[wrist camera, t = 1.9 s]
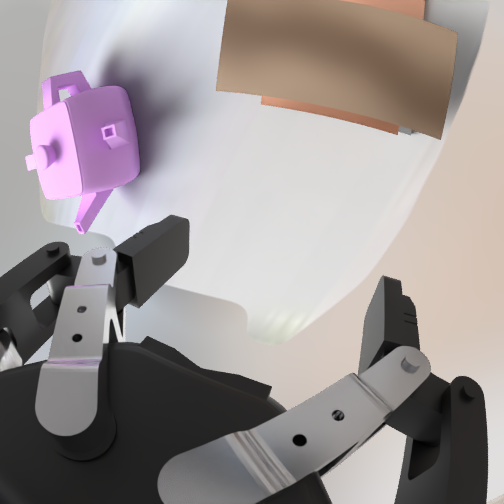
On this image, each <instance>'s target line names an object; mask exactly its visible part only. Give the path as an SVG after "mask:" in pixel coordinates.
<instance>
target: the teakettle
mask: <svg viewBox="0 0 504 504" xmlns="http://www.w3.org/2000/svg"><path fill="white" fill-rule="evenodd" d="M42 89H43V103H44V111H42V112H41V113H39V114H38V115H36V116H35V117H34V118H32V120H31V122H30V133H31V141H32V148H33V154H31V155H29V156H27V157H26V162H27V167H28V170H32V169H35V168H37V172H38V176H39V180H40V183H41V186H42V189H43V192H44V194H45V197H46V198H47V199H50V200H53V199H61V198H69V197H76V196H81V195H82V199H81V202H80V206H79V210H78V213H77V217H76V221H75V222H74V224H75V226H76V228H77V230H78V232H79V233H80V234H85V233H86V232H87V231H88V229H89V227H90V225H91V224H92V222H93V220H94V219H95V217H96V216H97V214H98V212H99V211H100V209H101V208H102V206H103V204H104V203H105V201H106V200H107V198H108V197H109V195H110V194H111V192H112V191H113V188H116V187H119V186H122V185H124V184H126V183H129V182H131V181H132V180H133V179H134V178H136V177H137V175H138V174H139V173H140V156H139V147H138V138H137V131H136V125H135V121H134V116H133V112H132V108H131V103H130V100H129V96H128V94H127V91H126V90H125V89H124V88H122V87H119V86H104V87H99V88H94V89H91V87H90V85H89V84H88V82H87V80H86V79H85V77H84V75H83V74H82V72H81V70H80V71H75V72H70V73H66V74H61V75H57V76H53V77H50V78H48V79H47V80H45V81H44V82H42ZM62 89H68V91H69V93H70V95H71V97H69V98H67V99H65V100H62V101H60V98H59V92H58V90H62Z"/></svg>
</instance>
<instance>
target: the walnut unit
mask: <svg viewBox="0 0 504 504" xmlns="http://www.w3.org/2000/svg"><path fill="white" fill-rule="evenodd" d="M457 35H458V33H457V32H454V31H452V30H449V29H447V28H444V27H441V26H439V25H436V24H433V23H430V22H427V21H424V20H421V19H418V18H415V17H412V16H408V15H405V14H401V13H398V12H394V11H390V10H386V9H382V8H378V7H373V6H369V5H364V4H359V3H354V2H348V1H342V0H228V1H227V8H226V15H225V22H224V29H223V36H222V43H221V51H220V59H219V67H218V76H217V84H216V91H225V92H235V93H245V94H253V95H261V96H262V99H261V104H262V105H269V106H275V107H281V108H287V109H293V110H298V111H304V112H309V113H314V114H318V115H323V116H328V117H332V118H337V119H341V120H345V121H349V122H353V123H357V124H361V125H365V126H368V127H372V128H376V129H379V130H383V131H386V132H389V133H393V134H396V135H398V131H399V132H402V133H405V134H408V135H411V132H412V130H414V131H417V132H420V133H423V134H426V135H429V136H431V137H434V138H437V139H440V140H441V137H442V132H443V128H444V123H445V118H446V113H447V108H448V103H449V97H450V92H451V85H452V79H453V72H454V64H455V56H456V47H457Z"/></svg>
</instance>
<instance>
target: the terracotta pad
mask: <svg viewBox="0 0 504 504" xmlns="http://www.w3.org/2000/svg"><path fill="white" fill-rule="evenodd" d="M342 1H348V2H354V3H359V4H364V5H369V6H373V7H378V8H382V9H386V10H390V11H394V12H398V13H401V14H405V15H408V16H412V17H415V18H418V19H421V20H424V6H425V0H342Z"/></svg>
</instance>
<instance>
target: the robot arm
mask: <svg viewBox="0 0 504 504" xmlns="http://www.w3.org/2000/svg"><path fill="white" fill-rule="evenodd" d="M189 227H190V225H189V220H188V219H186V218H182V217H178V216H175V215H170V216H168V217H167V218H165V219H163V220H162V221H160V222H159V223H155V224H152V225H149V226H147V227H145V228H144V229H142V230H141V231H139V233H136V234H135V235H133V237H130V238H129V239H127V240H126V241H124V242H123V243H121V244H120V245H118V246H117V247H115V248H114V249H113V250H112V249H110V248H96V249H92V250H90V251H88V252H86V253H85V254H84V255H83V256H82V257H80V256H73V255H70V250H69V246H68V244H66V243H64V242H53V243H49V244H47V245H45V246H43V247H42V248H40V249H39V250H38V251H36V252H35V253H33V254H32V255H30V256H29V257H28V258H26V259H25V260H23V261H22V262H20V263H19V264H18V265H16V266H15V267H14V268H12V269H11V270H9V271H8V272H7V273H5V274H4V275H3V276H2V277H0V504H332V502H331V500H330V498H329V495H328V493H327V491H326V489H325V487H324V484H323V482H322V480H321V477H323V476H324V475H326V474H327V473H329V472H330V471H331V470H333V469H334V468H335V467H337V466H338V465H339V464H341V463H342V462H343V461H344V460H345V459H347V458H348V457H349V456H350V455H351V454H353V453H354V452H355V451H356V450H358V449H359V448H360V447H361V446H363V445H364V444H365V443H366V442H367V441H369V440H370V439H371V438H372V437H373V436H374V435H376V434H377V433H378V432H379V431H380V430H381V429H382V428H384V427H385V426H386V425H389V426H391V427H392V428H394V429H396V430H398V431H400V432H402V433H403V434H405V435H407V438H406V445H405V452H404V458H403V464H402V470H401V475H400V480H399V485H398V490H397V494H396V499H395V503H394V504H486V499H487V482H488V438H487V422H486V409H485V400H484V394H483V391H482V389H481V387H480V386H479V385H478V383H477V382H475V381H474V380H472V379H471V378H469V377H466V376H459V377H456V378H455V379H454V380H453V381H452V382H451V383H448V382H446V381H444V380H443V379H441V378H439V377H437V376H436V375H434V374H432V373H431V372H430V371H431V366H430V362H429V360H428V359H427V357H426V356H425V355H424V354H423V353H422V352H421V351H420V344H419V334H418V326H417V318H416V309H415V306H414V304H413V302H412V301H411V299H410V297H408V296H405V295H402V286H401V281H400V280H397V279H393V278H390V277H387V276H382V277H381V279H380V281H379V283H378V286H377V288H376V291H375V293H374V295H373V298H372V300H371V303H370V305H369V307H368V310H367V313H366V316H365V320H364V328H363V338H362V346H361V355H360V362H359V370H358V376H357V375H356V374H355V373H351V374H349V375H347V376H345V377H344V378H342V379H341V380H339V381H337V382H336V383H334V384H333V385H331V386H329V387H328V388H326V389H325V390H323V391H321V392H320V393H318V394H316V395H315V396H313V397H311V398H309V399H308V400H306V401H304V402H303V403H301V404H299V405H297V406H295V407H294V408H292V409H290V410H288V411H287V410H286V409H285V408H284V407H283V406H282V405H280V404H279V403H278V402H277V401H275V400H274V399H273V398H271V397H269V395H270V391H271V388H272V386H269V385H266V384H263V383H260V382H257V381H254V380H252V379H249V378H246V377H243V376H241V375H237V374H231V373H225V372H218V371H213V370H207V369H203V368H200V367H199V366H197V365H196V364H194V363H193V362H192V361H190V360H189V359H188V358H186V357H185V356H184V355H182V354H181V353H180V352H178V351H177V350H176V349H175V348H172V347H170V346H168V345H166V344H164V343H161V342H159V341H157V340H155V339H153V338H151V337H149V336H147V337H146V338H145V339H144V340H143V341H142V342H141V343H140V344H139V343H133V342H125V320H126V319H125V318H126V311H125V306H126V305H127V304H131V305H133V306H135V307H137V308H140V307H141V306H142V305H143V304H144V303H145V302H146V301H147V300H148V299H149V298H150V297H151V296H152V295H153V294H154V293H155V292H156V291H157V290H158V289H159V288H160V287H161V286H162V285H163V284H164V283H165V282H167V281H168V280H169V279H170V278H171V277H172V276H173V275H174V274H175V273H176V272H177V271H178V270H179V269H180V268H181V267H182V266H183V265H184V264H185V263H186V261H187V258H188V255H189ZM45 283H46V284H47V287H48V290H49V293H50V295H49V296H48V297H47V298H46V299H45V300H44V301H42V302H41V303H40V304H39V305H38V306H37V307H35V308H34V309H33V310H32V307H31V305H30V299H31V295H32V294H33V293H34V292H35V291H36V290H38V289H39V288H40V287H41V286H42V285H44V284H45ZM52 335H53V339H52V343H51V348H50V353H49V358H48V360H44V361H40V362H36V363H32V364H27V365H24V364H25V363H26V362H27V361H28V359H29V358H30V357H31V356H32V355H33V354H34V353H35V352H36V351H37V350H38V349H39V348H40V347H41V346H42V345H43V344H44V343H45V342H46V341H47V340H48V339H49V338H50V337H51V336H52Z"/></svg>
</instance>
